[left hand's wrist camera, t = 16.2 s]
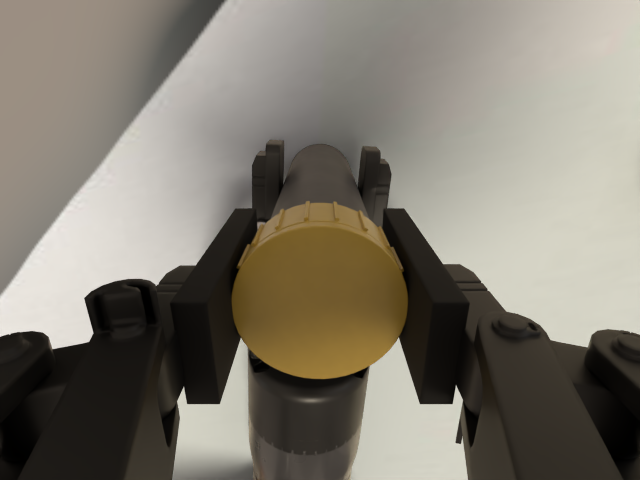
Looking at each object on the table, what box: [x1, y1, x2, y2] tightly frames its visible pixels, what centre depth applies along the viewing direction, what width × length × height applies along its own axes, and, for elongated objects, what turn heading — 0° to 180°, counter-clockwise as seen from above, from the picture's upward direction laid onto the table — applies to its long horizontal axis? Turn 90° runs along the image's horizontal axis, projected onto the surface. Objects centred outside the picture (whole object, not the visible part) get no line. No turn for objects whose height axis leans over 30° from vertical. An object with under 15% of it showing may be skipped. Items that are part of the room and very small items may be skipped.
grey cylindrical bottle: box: [271, 144, 369, 219], centre depth 18 cm, size 4×4×16 cm
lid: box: [231, 201, 408, 379], centre depth 11 cm, size 5×5×2 cm
